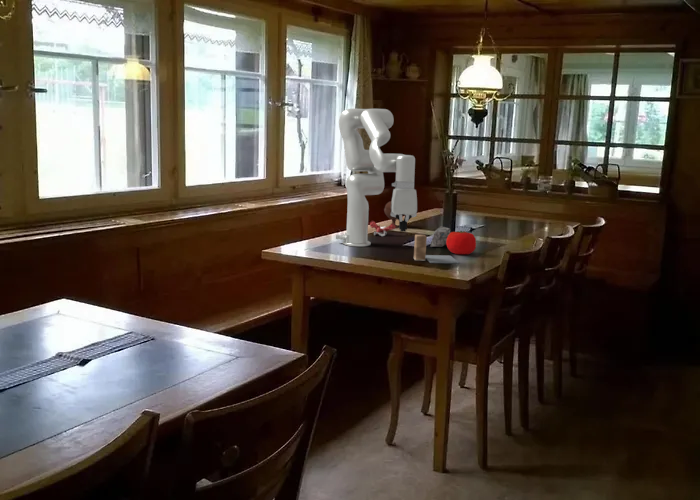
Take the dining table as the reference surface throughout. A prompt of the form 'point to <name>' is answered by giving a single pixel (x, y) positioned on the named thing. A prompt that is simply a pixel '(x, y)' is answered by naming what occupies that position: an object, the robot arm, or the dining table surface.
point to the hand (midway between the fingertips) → (402, 231)
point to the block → (420, 247)
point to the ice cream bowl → (388, 212)
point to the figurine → (381, 228)
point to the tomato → (461, 242)
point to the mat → (441, 259)
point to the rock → (440, 237)
